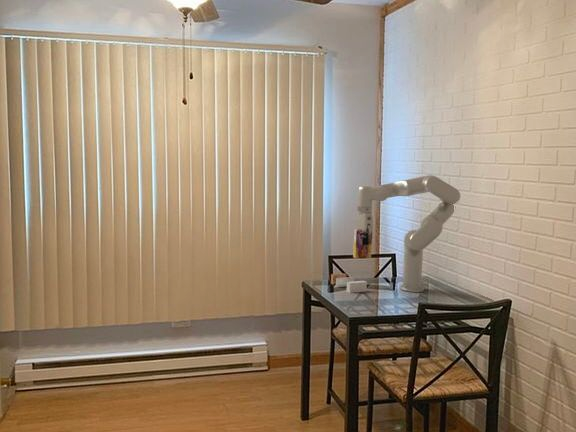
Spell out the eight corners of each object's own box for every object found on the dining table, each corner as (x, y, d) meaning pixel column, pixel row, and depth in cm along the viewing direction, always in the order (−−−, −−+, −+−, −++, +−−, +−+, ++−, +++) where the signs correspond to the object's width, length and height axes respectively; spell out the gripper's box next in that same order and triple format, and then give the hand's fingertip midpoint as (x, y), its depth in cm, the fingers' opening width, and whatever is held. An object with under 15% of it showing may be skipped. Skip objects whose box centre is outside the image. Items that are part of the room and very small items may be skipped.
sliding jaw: (345, 282, 328) (345, 273, 328) (354, 286, 320) (354, 276, 320) (329, 283, 324) (329, 274, 324) (337, 287, 316) (338, 277, 315)
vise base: (347, 284, 330) (348, 273, 330) (369, 293, 310) (370, 281, 310) (325, 285, 324) (325, 274, 324) (346, 295, 305) (346, 283, 304)
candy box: (368, 257, 323) (370, 228, 321) (371, 258, 319) (373, 230, 317) (352, 256, 322) (354, 228, 320) (354, 258, 318) (356, 229, 316)
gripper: (379, 211, 311) (377, 246, 313) (362, 208, 327) (360, 241, 329) (366, 211, 308) (364, 247, 310) (350, 208, 324) (348, 241, 326)
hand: (362, 243), depth 319 cm, fingers closed on candy box, 4 cm apart
